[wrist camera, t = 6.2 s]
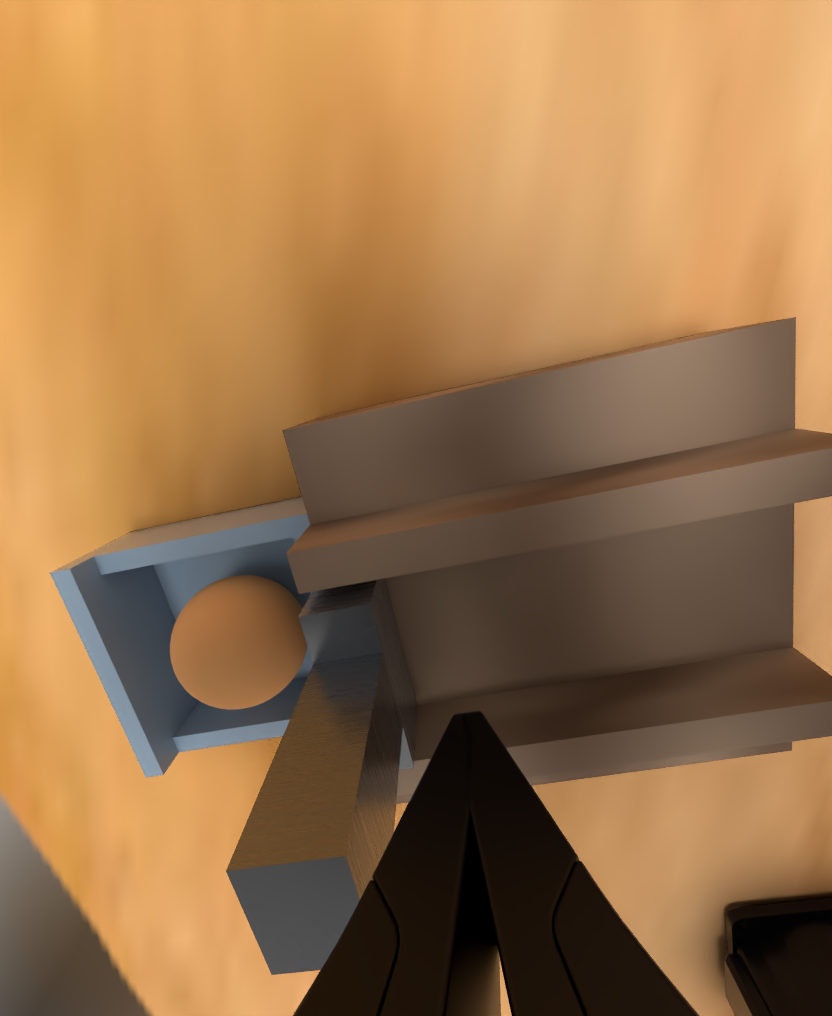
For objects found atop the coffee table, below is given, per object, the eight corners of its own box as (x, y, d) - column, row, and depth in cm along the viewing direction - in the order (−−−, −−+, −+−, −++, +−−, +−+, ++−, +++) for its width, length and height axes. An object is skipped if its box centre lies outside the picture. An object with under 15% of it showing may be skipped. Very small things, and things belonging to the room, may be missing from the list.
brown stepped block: (705, 332, 13) (881, 302, 8) (718, 674, 17) (852, 813, 11) (317, 418, 15) (250, 441, 9) (399, 723, 18) (385, 870, 12)
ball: (263, 546, 16) (309, 567, 13) (294, 642, 17) (344, 683, 14) (140, 595, 14) (160, 634, 11) (184, 701, 15) (214, 765, 12)
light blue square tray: (328, 491, 15) (298, 523, 12) (378, 672, 17) (364, 744, 14) (131, 531, 16) (50, 572, 12) (200, 701, 18) (146, 777, 14)
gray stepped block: (381, 563, 12) (319, 781, 5) (417, 703, 13) (401, 1019, 7) (322, 573, 12) (194, 799, 6) (362, 712, 13) (296, 1029, 7)
